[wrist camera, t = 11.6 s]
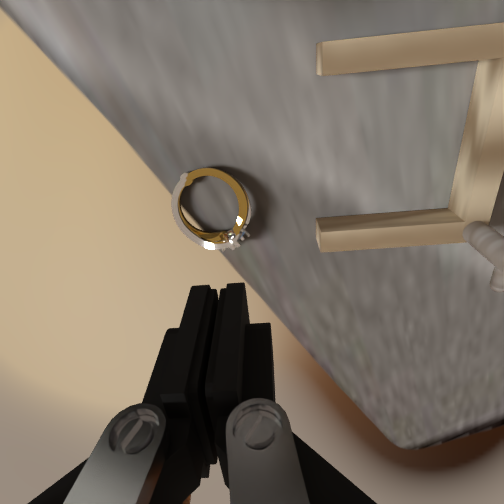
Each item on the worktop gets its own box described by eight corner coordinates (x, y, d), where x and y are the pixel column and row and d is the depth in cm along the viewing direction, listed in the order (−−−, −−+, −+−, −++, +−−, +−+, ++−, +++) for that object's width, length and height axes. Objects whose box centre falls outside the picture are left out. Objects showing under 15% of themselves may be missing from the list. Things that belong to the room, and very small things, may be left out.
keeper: (316, 43, 25) (338, 37, 18) (515, 22, 24) (619, 7, 17) (315, 254, 34) (330, 305, 27) (461, 244, 33) (515, 294, 26)
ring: (160, 194, 32) (214, 258, 34) (148, 201, 29) (207, 271, 31) (217, 147, 30) (270, 218, 32) (210, 149, 27) (269, 228, 29)
